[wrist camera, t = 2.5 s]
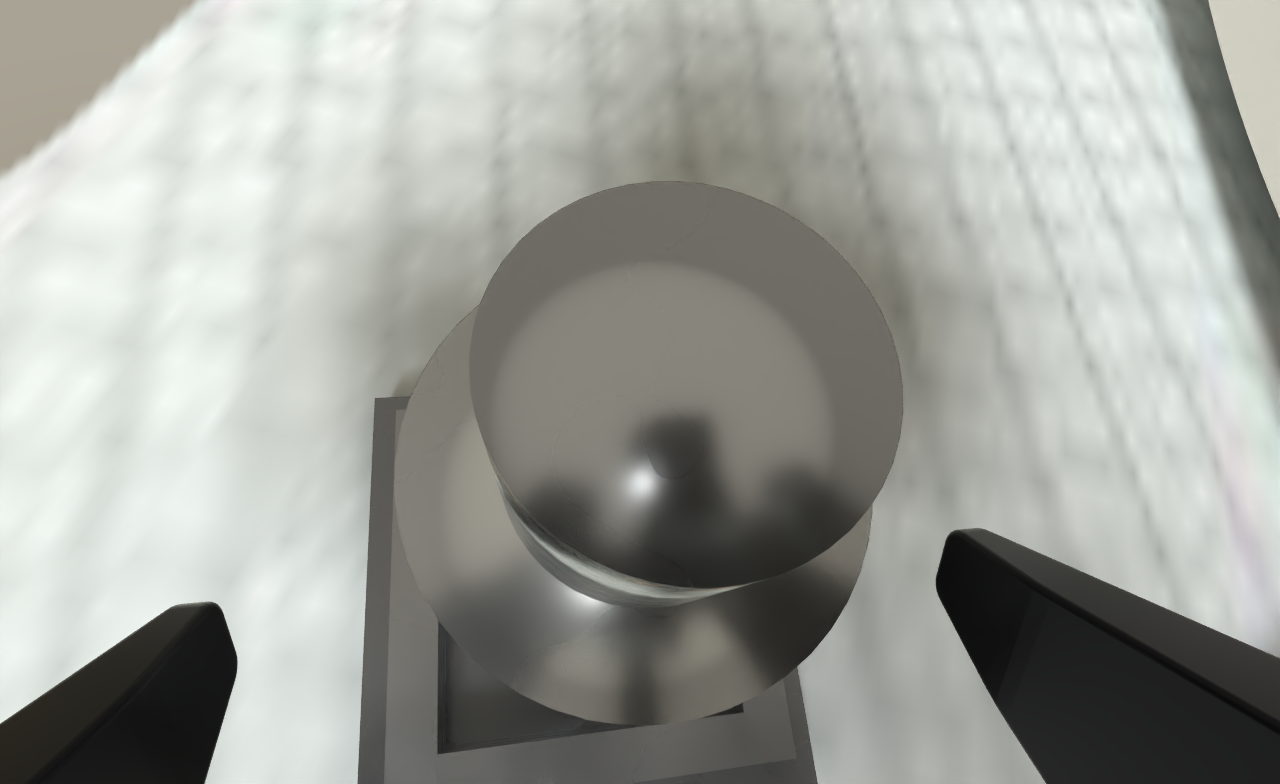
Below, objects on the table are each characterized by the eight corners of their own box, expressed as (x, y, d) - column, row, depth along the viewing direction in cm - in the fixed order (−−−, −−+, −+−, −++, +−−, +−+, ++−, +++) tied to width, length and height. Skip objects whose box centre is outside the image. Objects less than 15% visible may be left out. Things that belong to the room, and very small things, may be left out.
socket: (801, 775, 15) (839, 795, 13) (367, 843, 14) (336, 877, 12) (736, 392, 19) (758, 362, 17) (384, 411, 17) (362, 380, 15)
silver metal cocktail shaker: (617, 704, 15) (934, 992, 3) (462, 618, 15) (90, 509, 3) (692, 544, 16) (1104, 255, 4) (551, 467, 16) (554, -11, 4)
